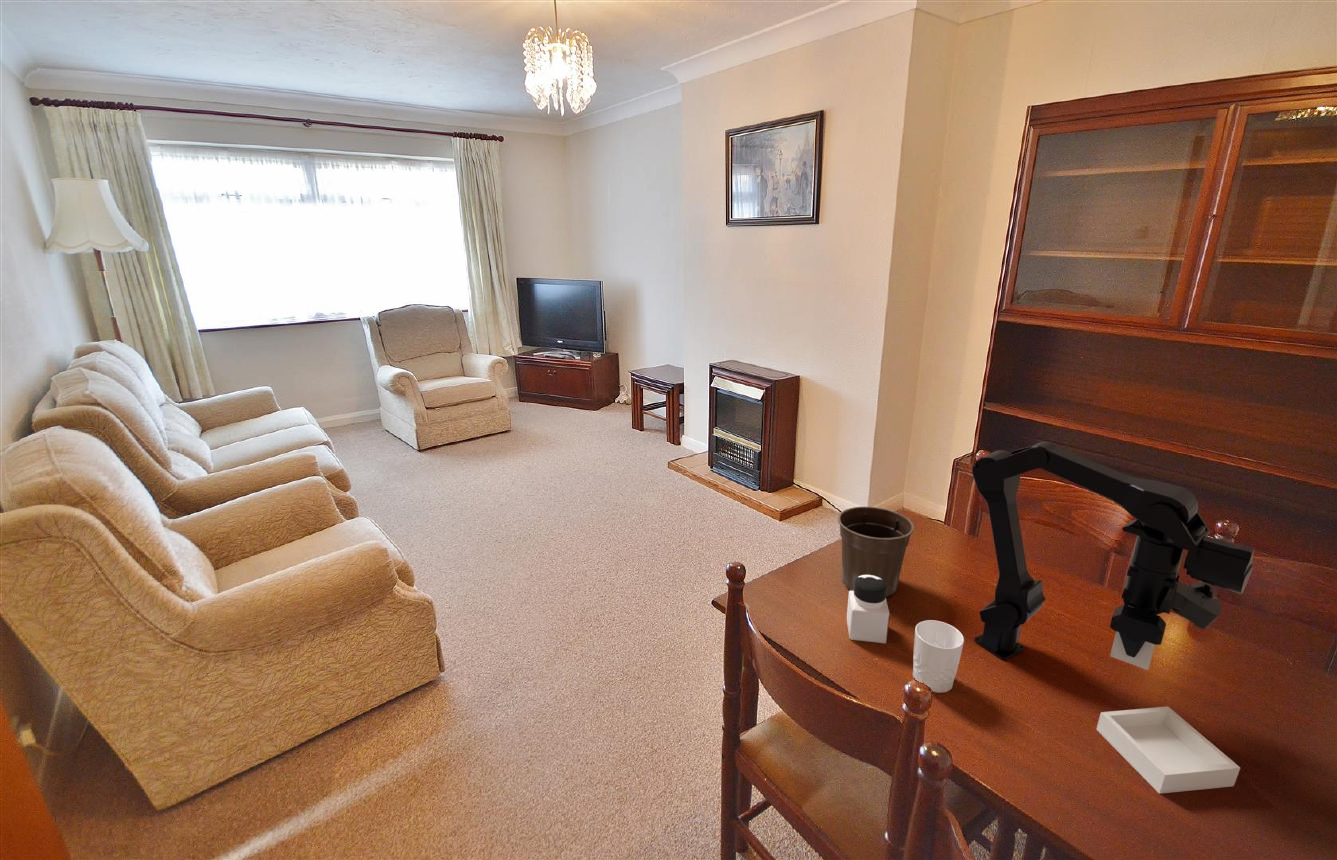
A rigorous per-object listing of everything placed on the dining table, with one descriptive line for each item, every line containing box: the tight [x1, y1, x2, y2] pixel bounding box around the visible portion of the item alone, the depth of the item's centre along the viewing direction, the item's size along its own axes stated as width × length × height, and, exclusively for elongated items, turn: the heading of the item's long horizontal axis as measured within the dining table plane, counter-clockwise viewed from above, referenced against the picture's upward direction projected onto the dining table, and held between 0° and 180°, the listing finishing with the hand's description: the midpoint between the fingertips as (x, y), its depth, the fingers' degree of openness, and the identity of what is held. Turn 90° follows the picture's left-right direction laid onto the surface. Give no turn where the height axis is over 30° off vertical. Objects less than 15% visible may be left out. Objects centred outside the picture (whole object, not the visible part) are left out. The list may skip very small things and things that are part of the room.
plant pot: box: [837, 506, 915, 597], centre depth 133 cm, size 16×16×16 cm
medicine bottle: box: [846, 575, 891, 644], centre depth 118 cm, size 7×7×12 cm
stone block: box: [1109, 631, 1156, 671], centre depth 96 cm, size 5×5×6 cm
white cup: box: [912, 619, 965, 694], centre depth 105 cm, size 8×8×10 cm
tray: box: [1096, 706, 1241, 794], centre depth 89 cm, size 12×12×4 cm
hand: (1133, 647), depth 96 cm, fingers closed on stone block, 5 cm apart
